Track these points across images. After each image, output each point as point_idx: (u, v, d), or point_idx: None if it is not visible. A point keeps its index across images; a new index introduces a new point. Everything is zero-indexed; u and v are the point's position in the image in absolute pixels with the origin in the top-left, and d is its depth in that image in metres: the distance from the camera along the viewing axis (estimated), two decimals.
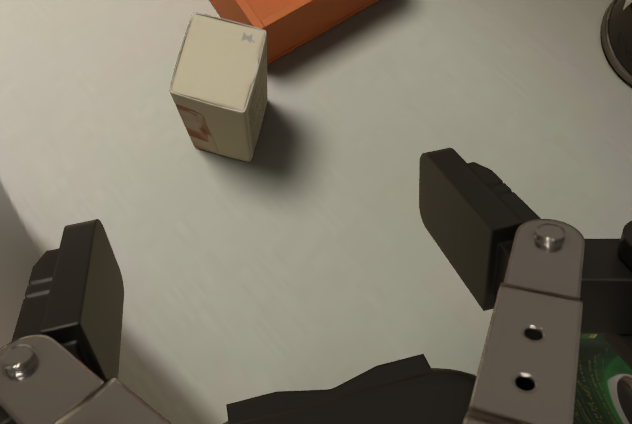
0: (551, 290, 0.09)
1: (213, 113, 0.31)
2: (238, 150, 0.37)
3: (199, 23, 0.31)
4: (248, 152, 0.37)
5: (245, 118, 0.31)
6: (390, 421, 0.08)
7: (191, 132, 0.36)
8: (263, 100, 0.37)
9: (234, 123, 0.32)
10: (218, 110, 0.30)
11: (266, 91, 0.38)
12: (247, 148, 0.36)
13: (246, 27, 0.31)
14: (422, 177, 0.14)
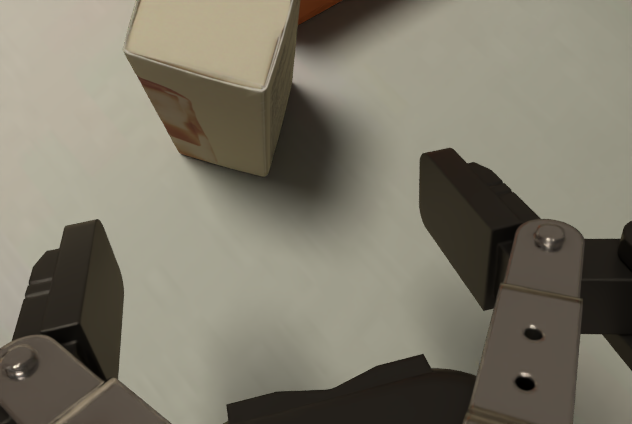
0: (551, 290, 0.09)
1: (206, 94, 0.17)
2: (249, 159, 0.23)
3: None
4: (264, 163, 0.23)
5: (265, 104, 0.17)
6: (390, 421, 0.08)
7: (172, 130, 0.22)
8: (289, 79, 0.23)
9: (245, 114, 0.18)
10: (214, 88, 0.16)
11: None
12: (263, 157, 0.22)
13: None
14: (422, 177, 0.14)
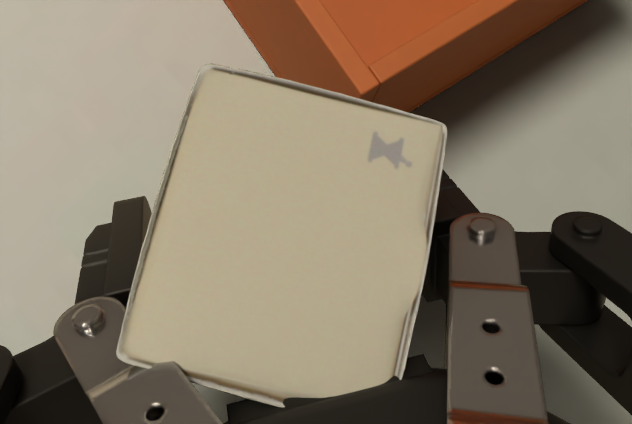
0: (494, 281, 0.10)
1: None
2: None
3: (224, 101, 0.09)
4: None
5: None
6: (390, 421, 0.08)
7: None
8: None
9: None
10: None
11: None
12: None
13: (382, 111, 0.09)
14: None
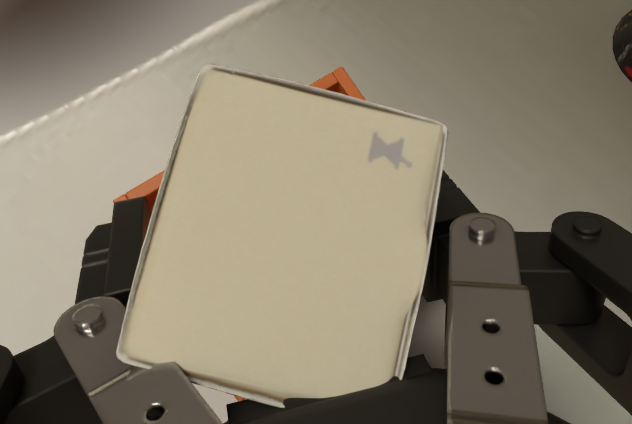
0: (494, 281, 0.10)
1: None
2: None
3: (224, 101, 0.09)
4: None
5: None
6: (390, 421, 0.08)
7: None
8: None
9: None
10: None
11: None
12: None
13: (382, 112, 0.09)
14: None
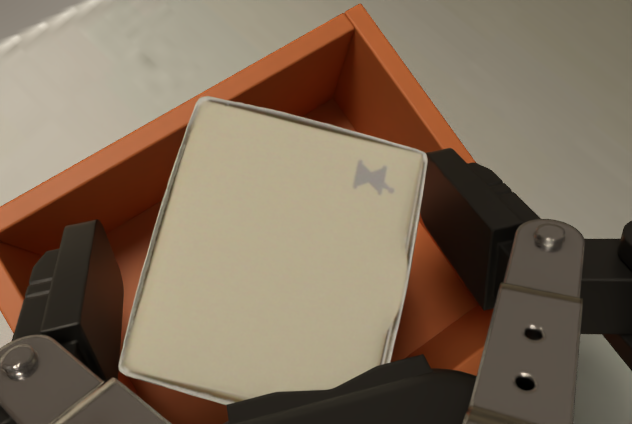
0: (551, 290, 0.09)
1: None
2: None
3: (219, 131, 0.10)
4: None
5: None
6: (390, 421, 0.08)
7: None
8: None
9: None
10: None
11: None
12: None
13: (367, 141, 0.10)
14: None
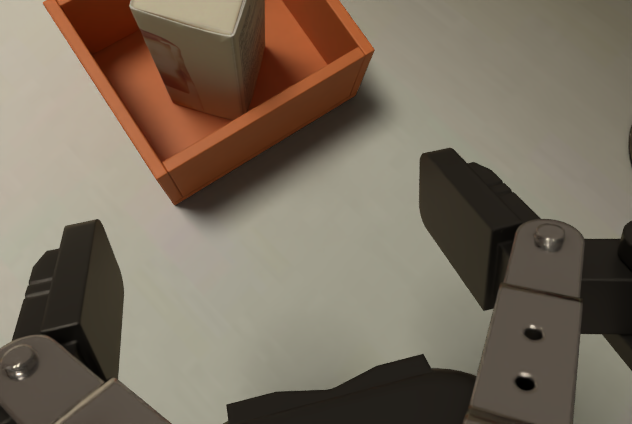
0: (551, 290, 0.09)
1: (191, 42, 0.23)
2: (228, 104, 0.29)
3: None
4: (240, 107, 0.29)
5: (234, 48, 0.23)
6: (390, 421, 0.08)
7: (166, 79, 0.28)
8: (260, 40, 0.29)
9: (220, 57, 0.24)
10: (196, 35, 0.22)
11: (264, 31, 0.30)
12: (239, 100, 0.28)
13: None
14: (422, 177, 0.14)
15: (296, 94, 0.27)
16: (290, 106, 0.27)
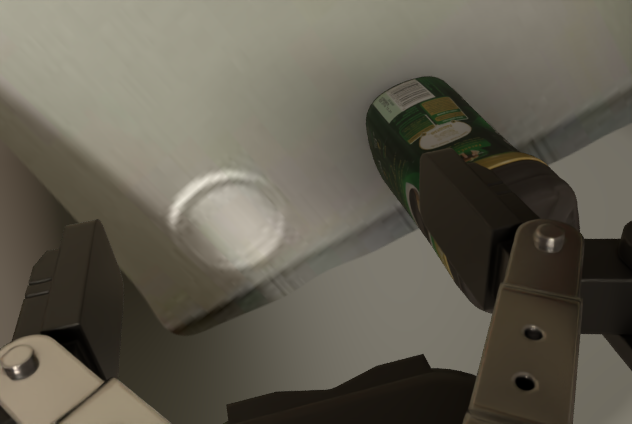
0: (551, 290, 0.09)
1: None
2: None
3: None
4: None
5: None
6: (390, 421, 0.08)
7: None
8: None
9: None
10: None
11: None
12: None
13: None
14: (422, 177, 0.14)
15: None
16: None
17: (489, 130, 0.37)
